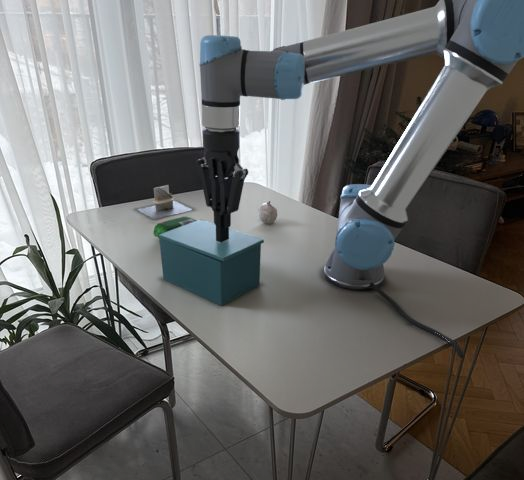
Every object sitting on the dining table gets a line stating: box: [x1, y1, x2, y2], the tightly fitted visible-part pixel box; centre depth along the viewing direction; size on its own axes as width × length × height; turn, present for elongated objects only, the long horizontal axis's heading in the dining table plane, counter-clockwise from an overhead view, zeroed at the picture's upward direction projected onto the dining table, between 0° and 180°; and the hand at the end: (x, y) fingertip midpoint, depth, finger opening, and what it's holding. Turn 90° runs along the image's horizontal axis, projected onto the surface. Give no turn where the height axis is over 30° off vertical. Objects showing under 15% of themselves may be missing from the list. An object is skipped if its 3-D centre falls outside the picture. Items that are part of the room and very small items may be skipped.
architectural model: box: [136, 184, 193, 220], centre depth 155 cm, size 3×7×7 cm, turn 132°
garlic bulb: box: [257, 200, 278, 225], centre depth 149 cm, size 7×6×8 cm
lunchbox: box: [158, 238, 262, 307], centre depth 114 cm, size 20×14×11 cm
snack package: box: [153, 215, 198, 239], centre depth 137 cm, size 7×16×5 cm, turn 131°
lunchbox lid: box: [158, 218, 265, 261], centre depth 110 cm, size 20×14×1 cm
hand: (222, 239), depth 108 cm, fingers closed
